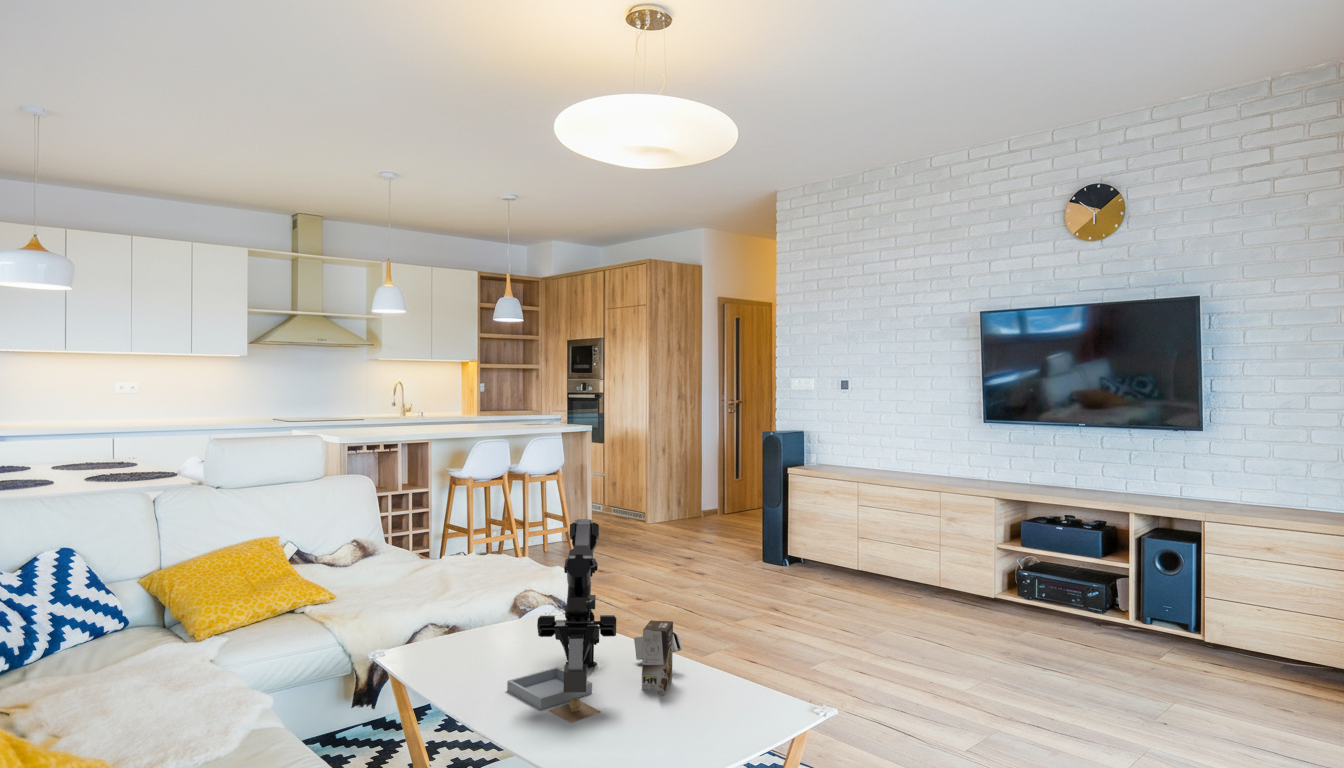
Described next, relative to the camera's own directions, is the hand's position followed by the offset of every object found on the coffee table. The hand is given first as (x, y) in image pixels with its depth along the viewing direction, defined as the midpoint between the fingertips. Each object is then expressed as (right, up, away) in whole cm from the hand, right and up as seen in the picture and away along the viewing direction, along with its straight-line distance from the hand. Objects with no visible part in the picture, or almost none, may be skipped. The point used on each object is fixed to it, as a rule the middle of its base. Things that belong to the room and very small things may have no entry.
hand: (575, 659), depth 179 cm
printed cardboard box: (+13, -12, +37) cm, 41 cm away
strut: (0, -7, +1) cm, 7 cm away
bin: (-8, -13, +12) cm, 20 cm away
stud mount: (0, -13, +1) cm, 14 cm away
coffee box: (+19, -14, +19) cm, 30 cm away
